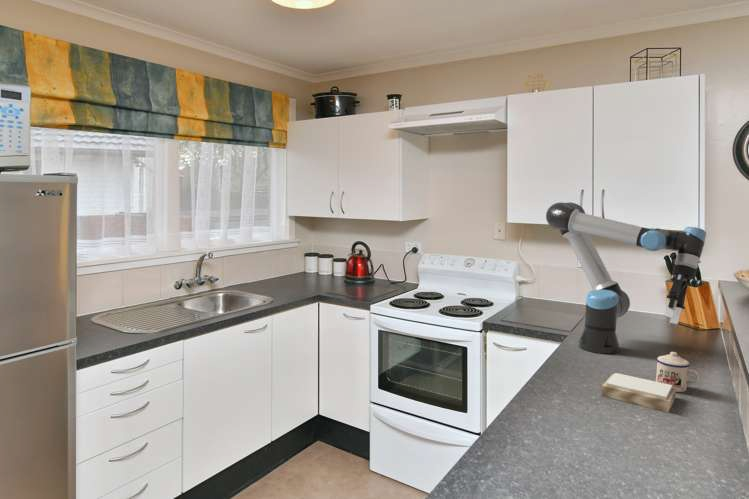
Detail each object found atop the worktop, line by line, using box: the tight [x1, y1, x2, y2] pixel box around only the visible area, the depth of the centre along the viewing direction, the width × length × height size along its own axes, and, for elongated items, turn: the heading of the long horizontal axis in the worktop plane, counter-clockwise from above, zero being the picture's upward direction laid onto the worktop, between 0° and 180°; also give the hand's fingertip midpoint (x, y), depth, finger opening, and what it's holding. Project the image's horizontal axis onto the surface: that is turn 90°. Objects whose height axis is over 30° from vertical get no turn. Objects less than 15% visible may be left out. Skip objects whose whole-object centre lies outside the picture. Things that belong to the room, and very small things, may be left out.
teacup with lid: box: [655, 351, 700, 393], centre depth 159 cm, size 12×9×12 cm
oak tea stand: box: [600, 372, 677, 413], centre depth 152 cm, size 18×14×4 cm
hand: (671, 320), depth 186 cm, fingers open, 13 cm apart
